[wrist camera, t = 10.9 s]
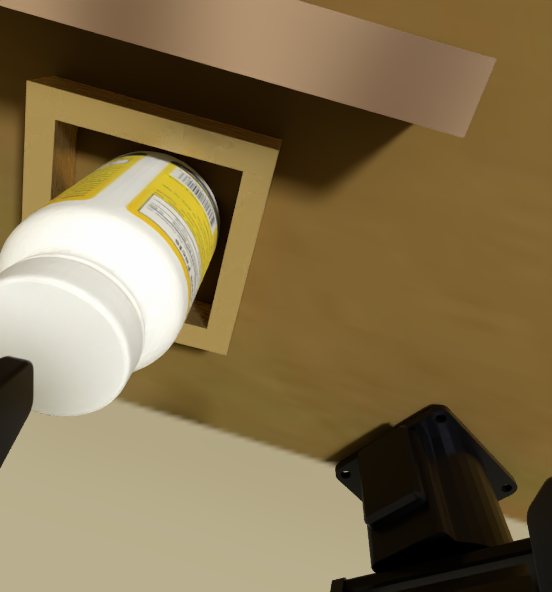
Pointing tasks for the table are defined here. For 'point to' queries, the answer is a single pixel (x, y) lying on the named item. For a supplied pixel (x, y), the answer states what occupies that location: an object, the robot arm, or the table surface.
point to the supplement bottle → (105, 278)
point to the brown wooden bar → (297, 51)
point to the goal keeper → (165, 135)
